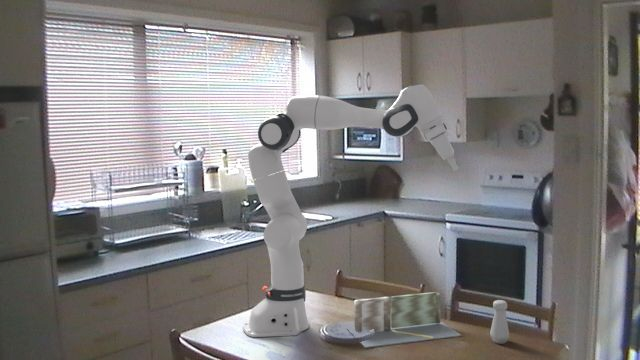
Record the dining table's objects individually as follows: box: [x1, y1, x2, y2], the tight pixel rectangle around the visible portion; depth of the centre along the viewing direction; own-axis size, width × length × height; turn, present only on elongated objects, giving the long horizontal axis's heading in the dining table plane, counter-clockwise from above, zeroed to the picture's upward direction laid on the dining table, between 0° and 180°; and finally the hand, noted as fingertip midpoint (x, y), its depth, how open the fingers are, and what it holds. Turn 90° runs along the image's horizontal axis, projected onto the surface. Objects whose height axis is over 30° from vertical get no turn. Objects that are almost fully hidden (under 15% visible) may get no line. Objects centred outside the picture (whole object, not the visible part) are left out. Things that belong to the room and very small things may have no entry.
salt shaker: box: [489, 299, 510, 345], centre depth 192 cm, size 6×6×13 cm
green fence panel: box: [390, 291, 442, 328], centre depth 206 cm, size 18×2×10 cm, turn 106°
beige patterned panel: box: [353, 296, 391, 332], centre depth 202 cm, size 12×3×11 cm, turn 106°
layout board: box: [359, 320, 462, 349], centre depth 202 cm, size 33×18×1 cm, turn 106°
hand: (456, 168), depth 193 cm, fingers open, 8 cm apart
